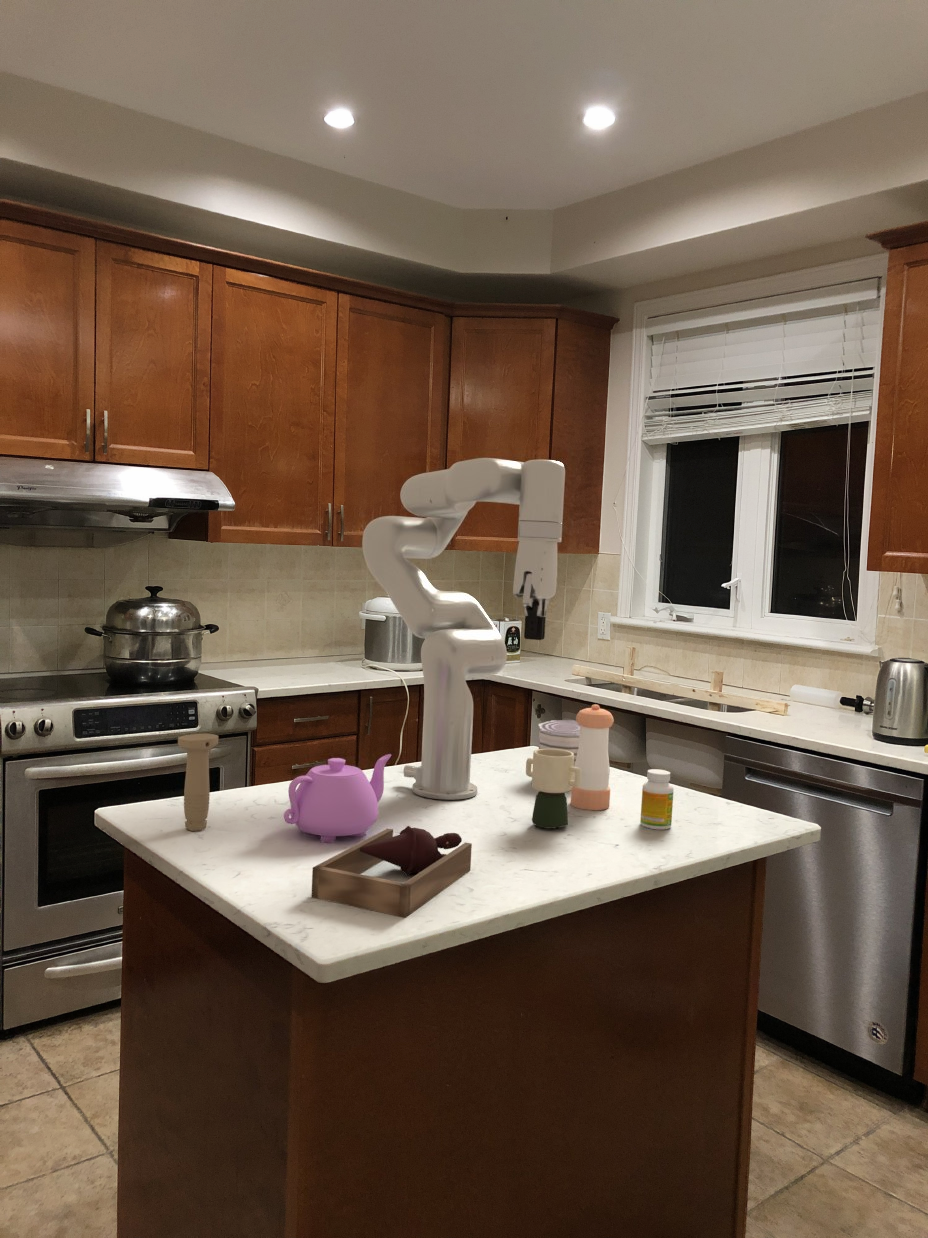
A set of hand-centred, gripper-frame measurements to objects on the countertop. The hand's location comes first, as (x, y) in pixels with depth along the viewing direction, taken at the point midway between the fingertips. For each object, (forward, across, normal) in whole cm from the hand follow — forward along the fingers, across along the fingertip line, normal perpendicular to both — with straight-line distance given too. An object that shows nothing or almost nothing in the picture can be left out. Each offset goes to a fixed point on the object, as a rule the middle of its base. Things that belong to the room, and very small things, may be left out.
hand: (534, 638), depth 166 cm
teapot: (+32, +23, -24) cm, 46 cm away
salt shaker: (+32, -17, +7) cm, 37 cm away
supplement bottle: (+32, -10, +21) cm, 40 cm away
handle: (+32, +34, -44) cm, 64 cm away
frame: (+32, +40, -5) cm, 51 cm away
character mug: (+32, +1, +5) cm, 33 cm away
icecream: (+32, +34, -5) cm, 48 cm away
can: (+32, -32, -3) cm, 46 cm away
